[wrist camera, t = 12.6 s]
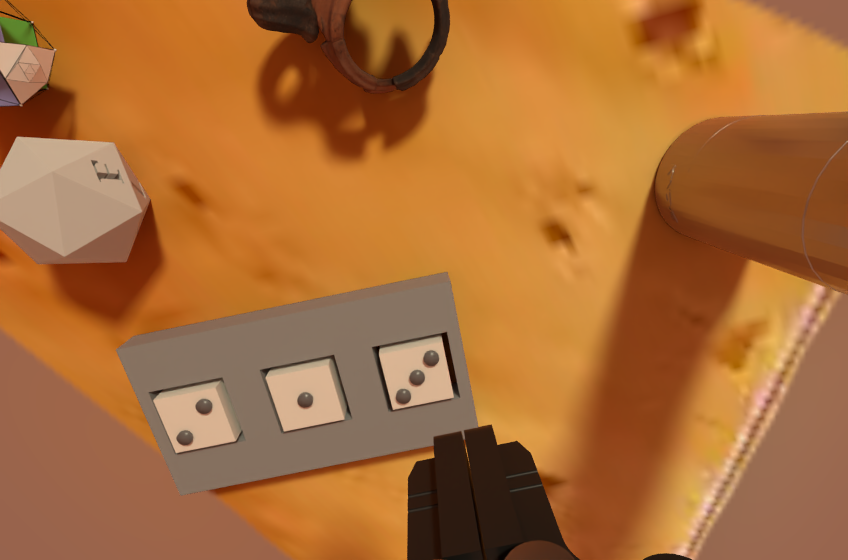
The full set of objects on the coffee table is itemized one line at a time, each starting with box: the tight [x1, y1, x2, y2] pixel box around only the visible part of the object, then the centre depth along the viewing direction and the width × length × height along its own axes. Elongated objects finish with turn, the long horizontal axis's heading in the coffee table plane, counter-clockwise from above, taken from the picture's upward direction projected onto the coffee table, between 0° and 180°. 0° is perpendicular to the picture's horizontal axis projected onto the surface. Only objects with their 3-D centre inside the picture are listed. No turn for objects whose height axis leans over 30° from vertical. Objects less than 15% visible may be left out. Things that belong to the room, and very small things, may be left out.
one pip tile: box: [266, 355, 348, 431], centre depth 39 cm, size 5×5×3 cm
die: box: [0, 137, 151, 264], centre depth 31 cm, size 8×9×10 cm
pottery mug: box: [247, 0, 450, 93], centre depth 30 cm, size 12×10×8 cm
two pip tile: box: [153, 377, 242, 453], centre depth 39 cm, size 5×5×3 cm
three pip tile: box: [379, 333, 454, 410], centre depth 38 cm, size 5×5×3 cm
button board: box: [116, 272, 478, 495], centre depth 39 cm, size 26×14×2 cm, turn 101°
